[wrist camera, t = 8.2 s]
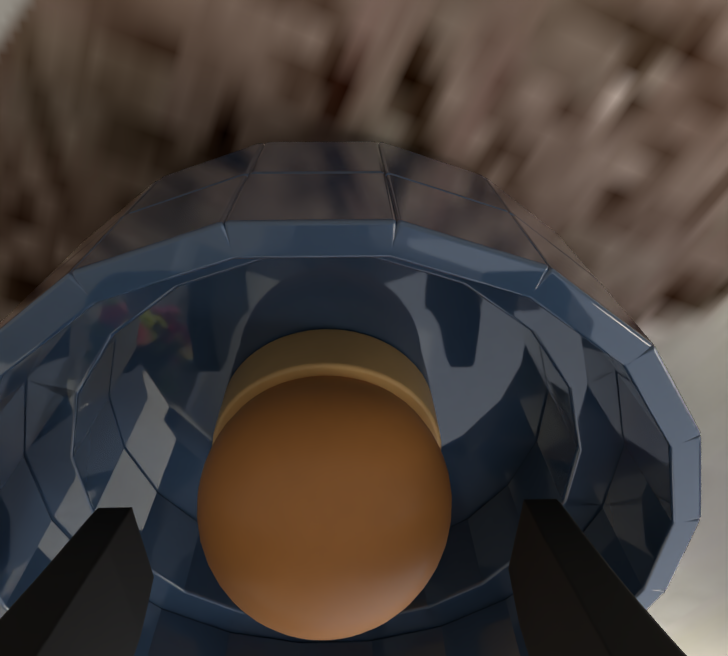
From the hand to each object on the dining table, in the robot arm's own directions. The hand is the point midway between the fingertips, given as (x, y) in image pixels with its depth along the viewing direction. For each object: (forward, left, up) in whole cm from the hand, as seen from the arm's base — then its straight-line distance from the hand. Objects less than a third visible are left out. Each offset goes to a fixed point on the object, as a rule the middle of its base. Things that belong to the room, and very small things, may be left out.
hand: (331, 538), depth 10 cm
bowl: (0, 0, -4) cm, 4 cm away
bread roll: (0, 0, -3) cm, 3 cm away
